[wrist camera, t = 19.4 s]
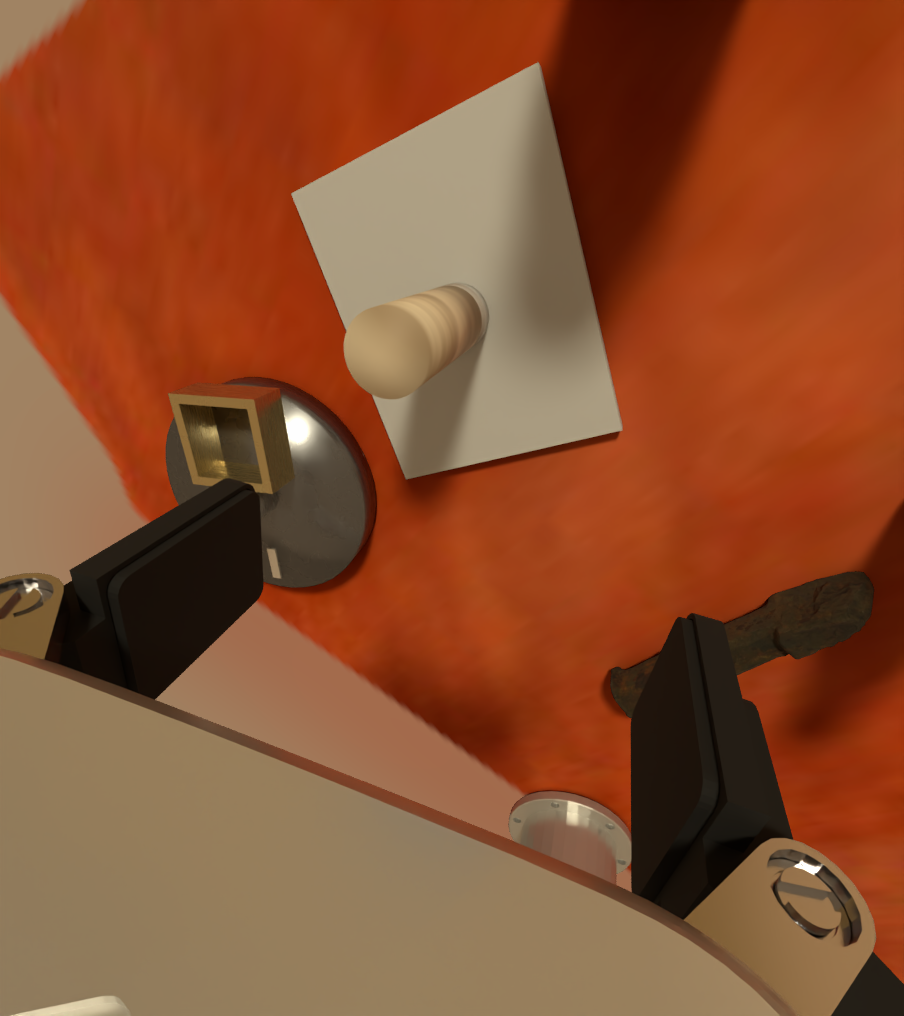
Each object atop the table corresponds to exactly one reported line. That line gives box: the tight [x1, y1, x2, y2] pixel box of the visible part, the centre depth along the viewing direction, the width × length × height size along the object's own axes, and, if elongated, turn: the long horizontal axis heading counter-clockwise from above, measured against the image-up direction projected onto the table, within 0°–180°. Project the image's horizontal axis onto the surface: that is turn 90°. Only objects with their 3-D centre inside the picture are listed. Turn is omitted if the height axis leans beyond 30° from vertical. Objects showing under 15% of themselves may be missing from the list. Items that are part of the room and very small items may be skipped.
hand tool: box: [610, 571, 874, 718], centre depth 37 cm, size 19×4×5 cm, turn 135°
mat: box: [291, 62, 622, 479], centre depth 34 cm, size 20×16×1 cm
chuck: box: [166, 377, 376, 587], centre depth 41 cm, size 18×18×8 cm
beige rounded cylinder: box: [344, 282, 489, 399], centre depth 28 cm, size 4×4×12 cm
